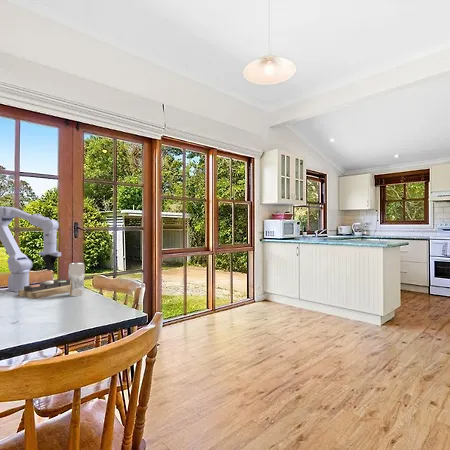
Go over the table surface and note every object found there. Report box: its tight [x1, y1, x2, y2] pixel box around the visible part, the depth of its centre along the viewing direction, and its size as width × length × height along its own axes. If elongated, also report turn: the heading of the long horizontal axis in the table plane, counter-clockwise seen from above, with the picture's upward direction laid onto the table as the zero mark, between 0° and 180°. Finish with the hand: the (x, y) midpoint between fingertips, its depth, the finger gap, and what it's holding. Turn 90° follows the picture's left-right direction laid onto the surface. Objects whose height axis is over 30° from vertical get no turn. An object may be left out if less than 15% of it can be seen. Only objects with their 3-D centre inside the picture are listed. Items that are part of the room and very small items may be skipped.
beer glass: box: [67, 262, 86, 297], centre depth 147 cm, size 7×7×15 cm
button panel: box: [17, 279, 70, 299], centre depth 151 cm, size 14×21×4 cm, turn 154°
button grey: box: [43, 280, 54, 285], centre depth 152 cm, size 4×4×2 cm
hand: (49, 270), depth 156 cm, fingers closed
